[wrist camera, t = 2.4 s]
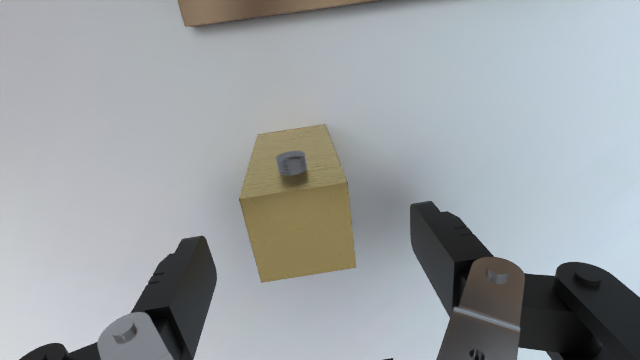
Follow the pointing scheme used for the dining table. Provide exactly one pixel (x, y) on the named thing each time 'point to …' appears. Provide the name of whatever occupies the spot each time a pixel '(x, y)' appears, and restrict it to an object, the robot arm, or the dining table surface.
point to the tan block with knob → (297, 205)
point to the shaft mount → (249, 9)
